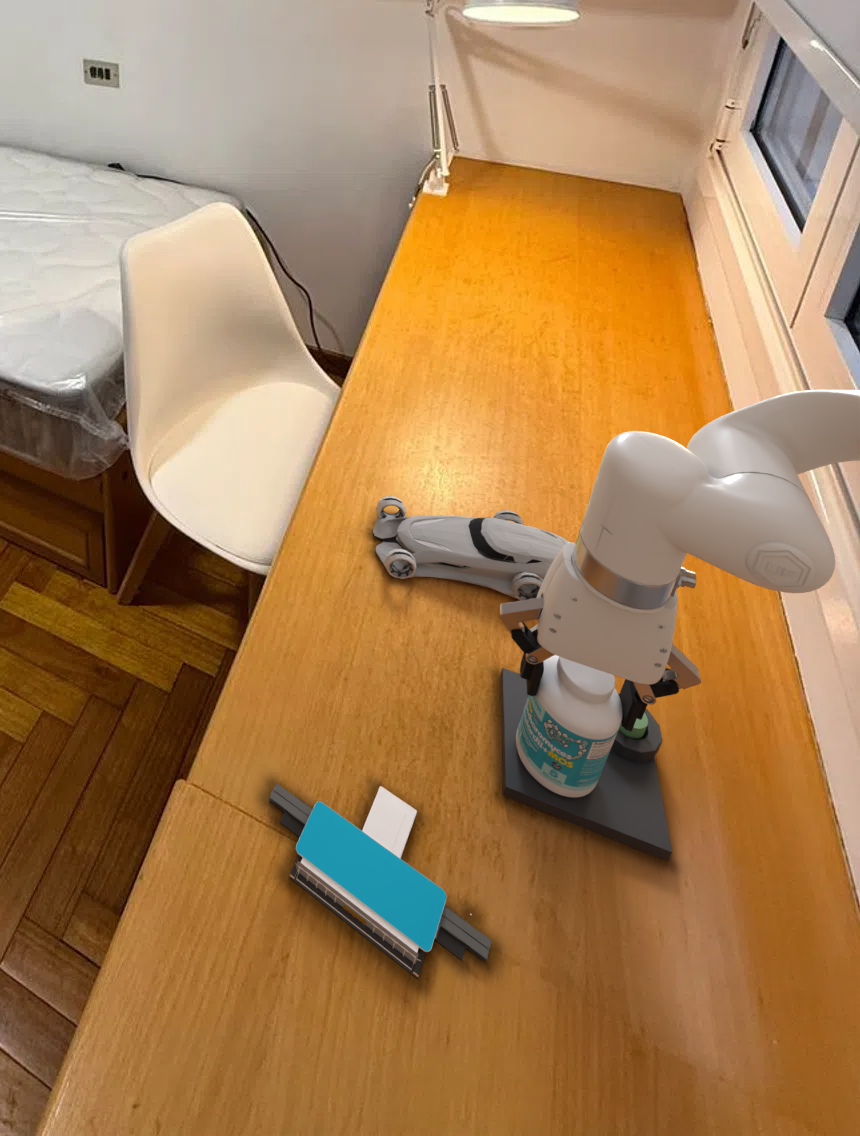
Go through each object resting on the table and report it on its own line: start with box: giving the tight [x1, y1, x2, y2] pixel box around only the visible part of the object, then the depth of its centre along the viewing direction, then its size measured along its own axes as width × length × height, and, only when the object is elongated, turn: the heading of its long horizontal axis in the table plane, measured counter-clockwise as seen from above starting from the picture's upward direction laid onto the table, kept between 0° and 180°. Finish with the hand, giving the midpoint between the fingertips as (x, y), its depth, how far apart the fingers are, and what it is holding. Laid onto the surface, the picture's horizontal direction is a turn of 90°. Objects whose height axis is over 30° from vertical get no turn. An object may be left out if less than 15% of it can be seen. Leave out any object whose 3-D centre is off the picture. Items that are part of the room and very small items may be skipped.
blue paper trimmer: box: [268, 782, 493, 980], centre depth 76 cm, size 20×12×2 cm, turn 53°
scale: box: [499, 667, 673, 862], centre depth 84 cm, size 14×13×3 cm
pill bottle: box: [516, 655, 623, 798], centre depth 81 cm, size 8×7×14 cm
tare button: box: [619, 713, 648, 739], centre depth 85 cm, size 3×3×2 cm
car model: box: [372, 495, 570, 601], centre depth 106 cm, size 11×24×5 cm, turn 80°
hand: (576, 698), depth 80 cm, fingers closed on pill bottle, 7 cm apart
